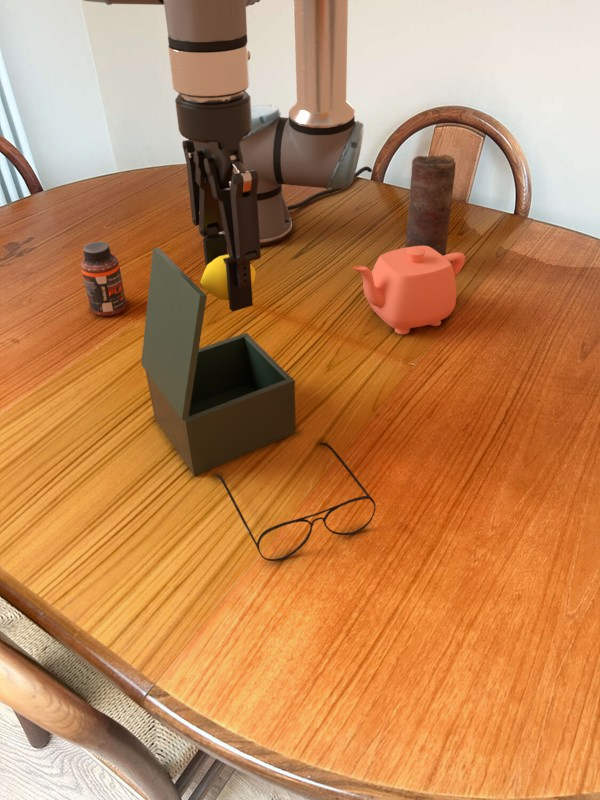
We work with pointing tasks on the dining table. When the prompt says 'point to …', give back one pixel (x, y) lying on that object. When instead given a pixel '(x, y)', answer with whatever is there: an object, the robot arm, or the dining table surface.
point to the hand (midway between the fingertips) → (229, 295)
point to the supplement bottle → (102, 280)
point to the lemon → (219, 278)
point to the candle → (430, 202)
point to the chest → (229, 405)
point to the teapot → (412, 286)
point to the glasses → (306, 516)
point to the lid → (172, 331)
